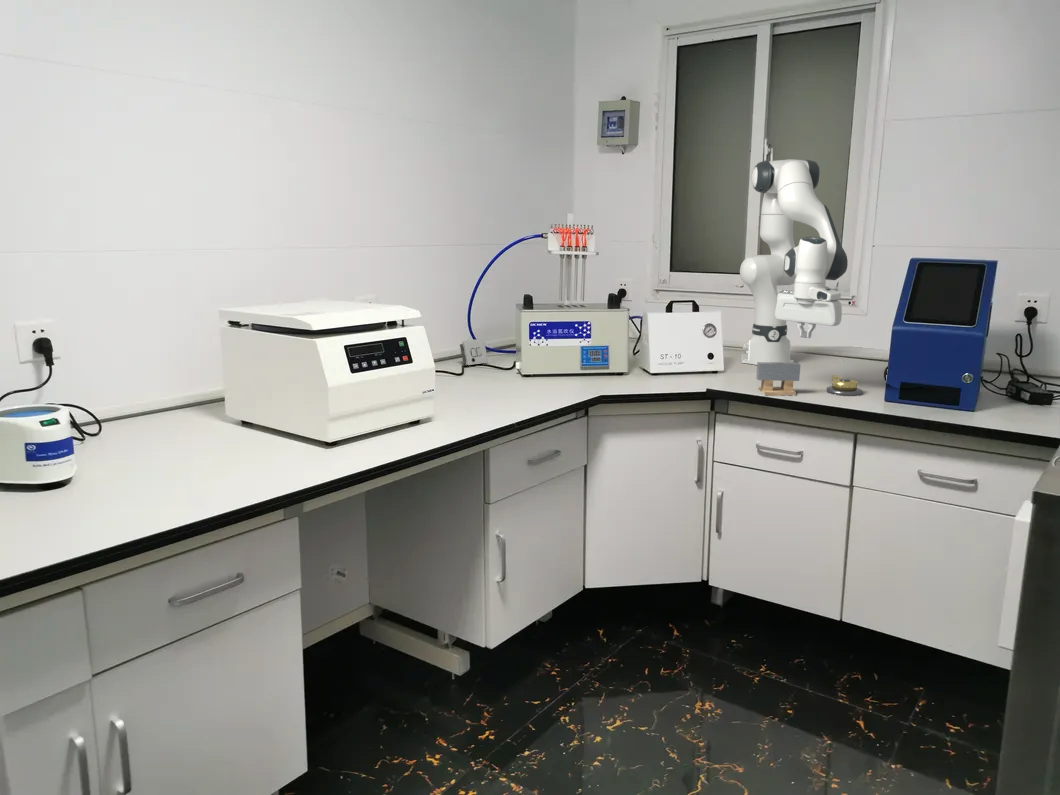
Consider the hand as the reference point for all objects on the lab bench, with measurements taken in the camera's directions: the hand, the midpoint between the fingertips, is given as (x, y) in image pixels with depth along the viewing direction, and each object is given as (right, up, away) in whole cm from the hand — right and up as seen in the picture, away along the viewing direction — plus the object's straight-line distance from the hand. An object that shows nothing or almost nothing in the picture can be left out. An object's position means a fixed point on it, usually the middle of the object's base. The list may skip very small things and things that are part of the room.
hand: (805, 337), depth 241 cm
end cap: (+33, -15, +7) cm, 37 cm away
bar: (-9, -13, -3) cm, 16 cm away
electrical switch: (-104, -7, +45) cm, 114 cm away
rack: (-9, -17, -2) cm, 19 cm away
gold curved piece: (+11, -15, +1) cm, 19 cm away
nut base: (+11, -17, -2) cm, 20 cm away
